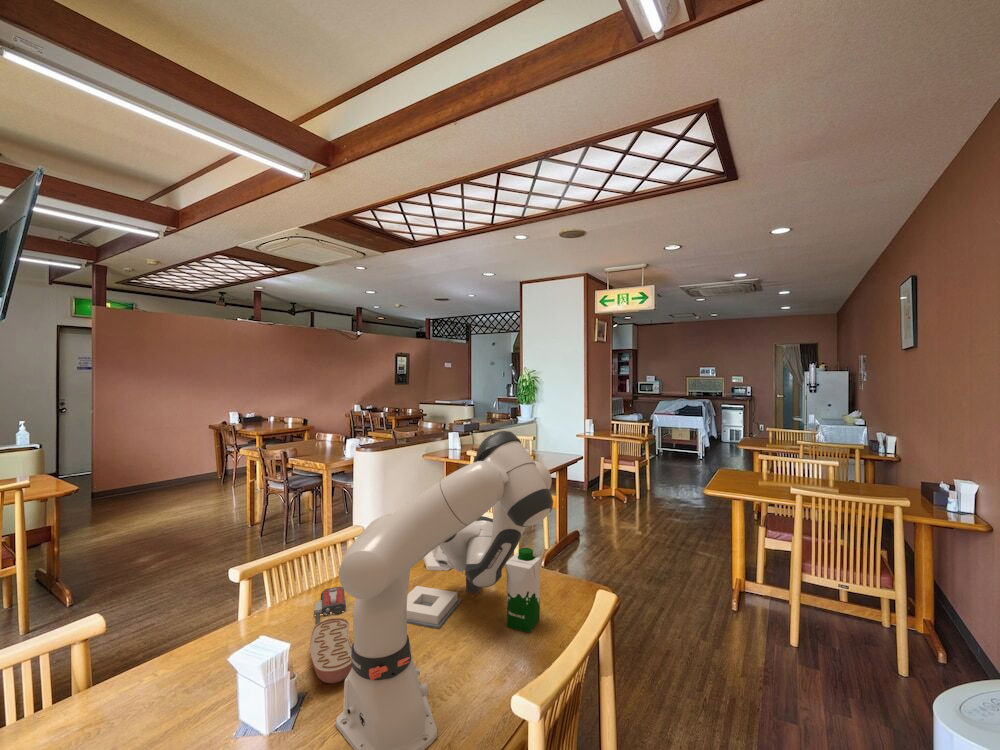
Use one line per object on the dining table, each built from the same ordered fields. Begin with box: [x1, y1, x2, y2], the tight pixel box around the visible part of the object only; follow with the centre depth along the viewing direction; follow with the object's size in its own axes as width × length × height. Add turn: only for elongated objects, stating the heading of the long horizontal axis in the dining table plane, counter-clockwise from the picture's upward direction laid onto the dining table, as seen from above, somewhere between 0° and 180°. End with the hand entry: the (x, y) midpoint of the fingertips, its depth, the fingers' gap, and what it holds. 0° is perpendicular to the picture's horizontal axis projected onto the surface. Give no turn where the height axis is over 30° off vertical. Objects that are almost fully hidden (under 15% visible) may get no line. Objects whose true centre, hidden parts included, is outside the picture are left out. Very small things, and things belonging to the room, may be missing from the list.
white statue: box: [423, 545, 452, 572], centre depth 169 cm, size 12×15×14 cm
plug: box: [465, 576, 483, 594], centre depth 149 cm, size 4×4×10 cm
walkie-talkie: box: [313, 586, 347, 626], centre depth 137 cm, size 9×4×20 cm
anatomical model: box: [309, 617, 352, 684], centre depth 114 cm, size 23×10×5 cm, turn 24°
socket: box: [407, 585, 463, 630], centre depth 137 cm, size 16×16×3 cm
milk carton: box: [504, 547, 541, 634], centre depth 129 cm, size 9×9×20 cm
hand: (475, 571), depth 150 cm, fingers open, 8 cm apart
